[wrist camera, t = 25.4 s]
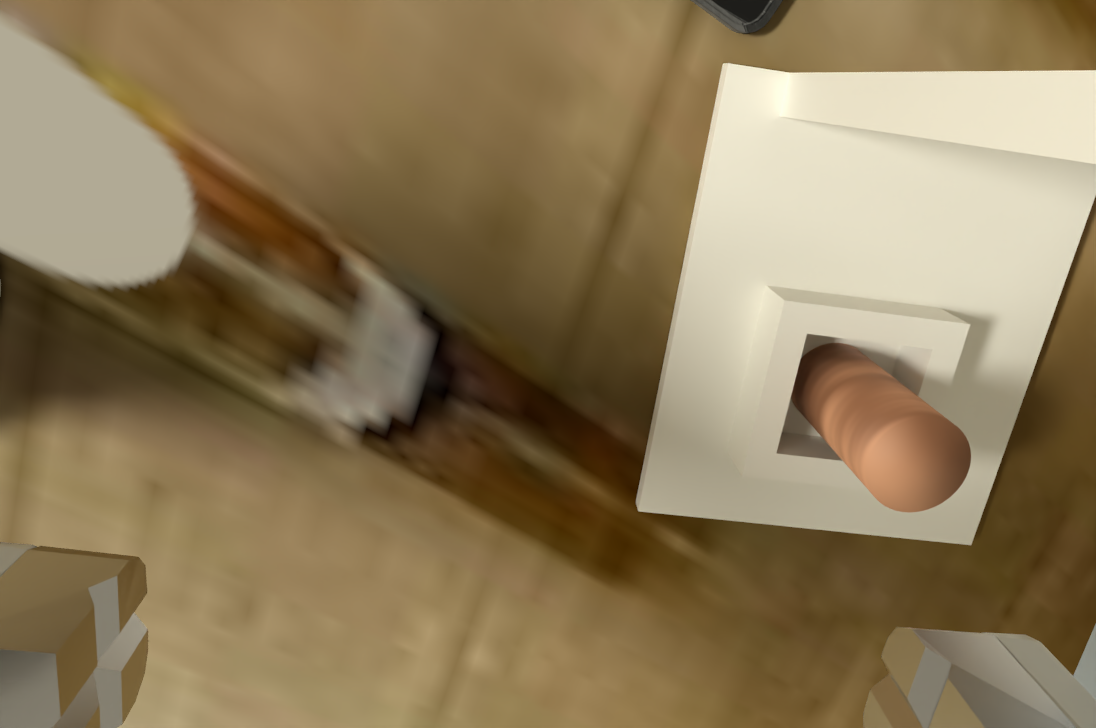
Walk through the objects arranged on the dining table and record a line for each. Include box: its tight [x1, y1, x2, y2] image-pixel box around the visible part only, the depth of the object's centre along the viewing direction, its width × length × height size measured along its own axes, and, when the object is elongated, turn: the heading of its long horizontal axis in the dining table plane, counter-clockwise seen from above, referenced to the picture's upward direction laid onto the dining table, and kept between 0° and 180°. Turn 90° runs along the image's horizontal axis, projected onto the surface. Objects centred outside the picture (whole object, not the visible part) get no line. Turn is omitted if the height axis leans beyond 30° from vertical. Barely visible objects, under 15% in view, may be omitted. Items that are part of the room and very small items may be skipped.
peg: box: [791, 343, 971, 512], centre depth 39 cm, size 4×4×10 cm
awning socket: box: [636, 63, 1096, 700], centre depth 30 cm, size 20×24×30 cm
